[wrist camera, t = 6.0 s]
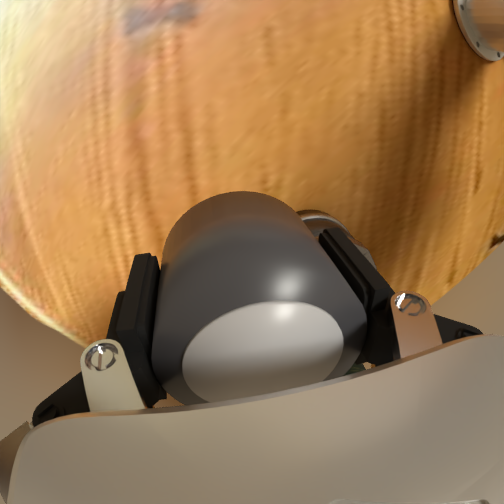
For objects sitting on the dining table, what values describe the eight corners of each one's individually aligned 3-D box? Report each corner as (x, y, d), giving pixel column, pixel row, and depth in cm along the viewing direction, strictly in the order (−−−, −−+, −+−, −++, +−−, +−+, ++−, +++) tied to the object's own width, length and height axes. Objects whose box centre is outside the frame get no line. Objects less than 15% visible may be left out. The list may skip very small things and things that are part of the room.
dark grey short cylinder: (313, 183, 11) (389, 255, 7) (308, 308, 14) (349, 397, 10) (147, 203, 10) (117, 296, 6) (179, 328, 13) (181, 429, 9)
